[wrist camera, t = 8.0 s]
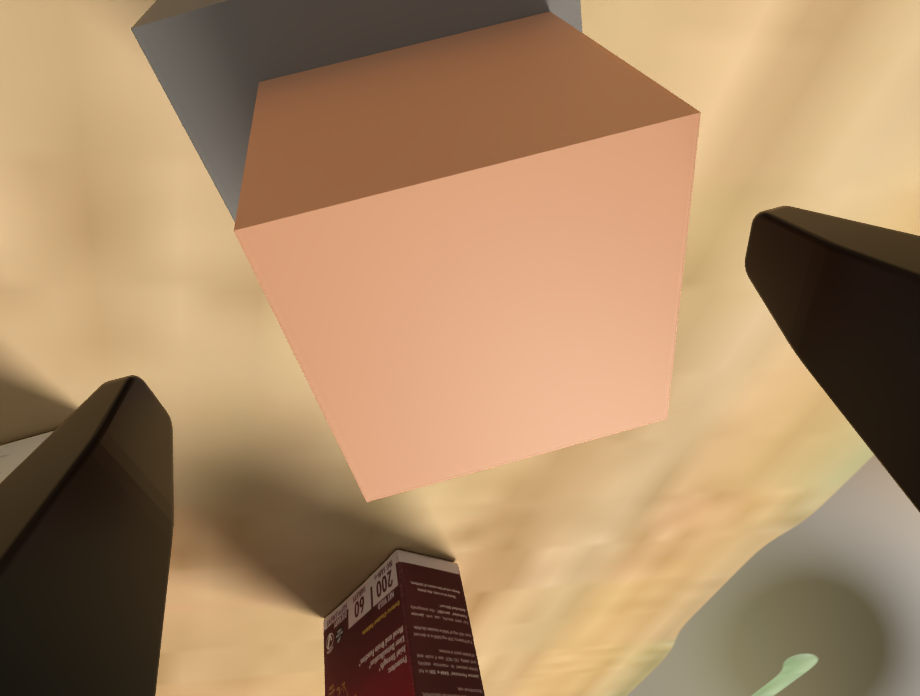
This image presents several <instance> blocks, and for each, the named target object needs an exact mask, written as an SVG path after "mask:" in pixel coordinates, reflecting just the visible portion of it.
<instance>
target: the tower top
mask: <svg viewBox="0 0 920 696" xmlns="http://www.w3.org/2000/svg"><path fill="white" fill-rule="evenodd" d="M549 11H550V12H552V13H553V14H555V15H556V16H558V17H559V18H561V19H562V20H564V21H565V22H567V23H568V24H570V25H571V26H573V27H574V28H576V29H577V30H579V31H580V32H582V20H581V5H580V0H157V1H156V2H155V3H154V4H153V5H152V6H151V7H150V8H149V9H148V11H147V12H146V13H145V14H144V15H143V16H142V17H141V18H140V19H139V20H138V21H137V23H136V24H135V25H134V26H133V27H132V28H131V30H132V32H133V34H134V35H135V37H136V39H137V41H138V43H139V45H140V47H141V48H142V50H143V52H144V54H145V56H146V58H147V60H148V61H149V63H150V65H151V67H152V69H153V71H154V73H155V74H156V76H157V78H158V80H159V82H160V84H161V86H162V87H163V89H164V91H165V93H166V95H167V97H168V99H169V100H170V102H171V104H172V106H173V108H174V110H175V112H176V114H177V115H178V117H179V119H180V121H181V123H182V125H183V127H184V128H185V130H186V132H187V134H188V136H189V138H190V140H191V141H192V143H193V145H194V147H195V149H196V151H197V153H198V154H199V156H200V158H201V160H202V162H203V164H204V166H205V167H206V169H207V171H208V173H209V175H210V177H211V179H212V180H213V182H214V184H215V186H216V188H217V190H218V192H219V193H220V195H221V197H222V199H223V201H224V203H225V205H226V206H227V208H228V210H229V212H230V214H231V216H232V218H233V219H234V221H236V215H237V209H238V203H239V197H240V191H241V185H242V179H243V173H244V167H245V161H246V156H247V150H248V144H249V138H250V132H251V126H252V120H253V114H254V108H255V102H256V96H257V90H258V84H259V82H261V81H265V80H270V79H274V78H278V77H282V76H286V75H290V74H294V73H298V72H302V71H307V70H311V69H315V68H319V67H323V66H327V65H331V64H335V63H339V62H344V61H348V60H352V59H356V58H360V57H364V56H368V55H372V54H377V53H381V52H385V51H389V50H393V49H397V48H401V47H405V46H409V45H414V44H418V43H422V42H426V41H430V40H434V39H438V38H442V37H447V36H451V35H455V34H459V33H463V32H467V31H471V30H475V29H479V28H484V27H488V26H492V25H496V24H500V23H504V22H508V21H512V20H517V19H521V18H525V17H529V16H533V15H537V14H541V13H545V12H549Z"/></svg>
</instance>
